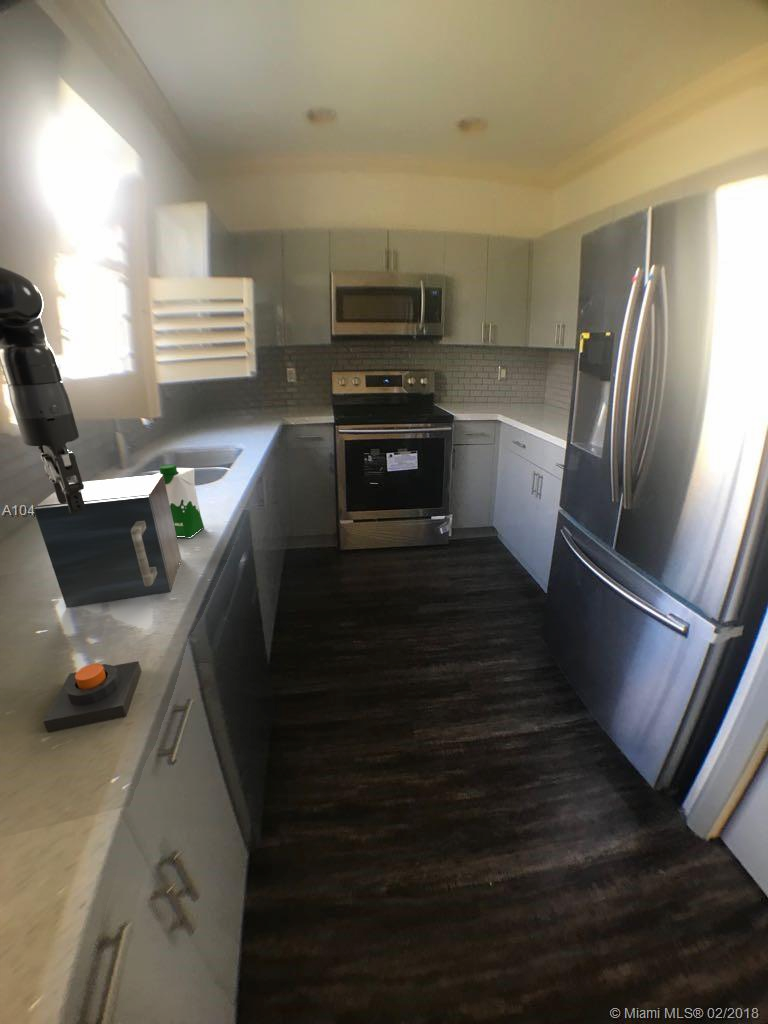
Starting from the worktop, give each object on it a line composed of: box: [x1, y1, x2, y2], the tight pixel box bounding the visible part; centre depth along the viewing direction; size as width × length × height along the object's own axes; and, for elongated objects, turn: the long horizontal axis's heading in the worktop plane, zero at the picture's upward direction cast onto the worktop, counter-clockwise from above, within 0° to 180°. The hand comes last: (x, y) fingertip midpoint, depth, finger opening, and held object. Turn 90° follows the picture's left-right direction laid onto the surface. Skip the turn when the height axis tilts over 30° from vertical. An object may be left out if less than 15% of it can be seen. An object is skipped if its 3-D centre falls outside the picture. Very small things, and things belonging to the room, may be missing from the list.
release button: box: [75, 663, 106, 689], centre depth 68 cm, size 4×4×2 cm
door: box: [33, 495, 172, 608], centre depth 90 cm, size 6×20×22 cm, turn 105°
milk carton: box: [154, 463, 205, 537], centre depth 125 cm, size 9×9×20 cm
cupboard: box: [35, 474, 182, 590], centre depth 100 cm, size 15×20×22 cm
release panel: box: [43, 660, 142, 734], centre depth 69 cm, size 10×10×4 cm
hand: (72, 507), depth 79 cm, fingers open, 8 cm apart
